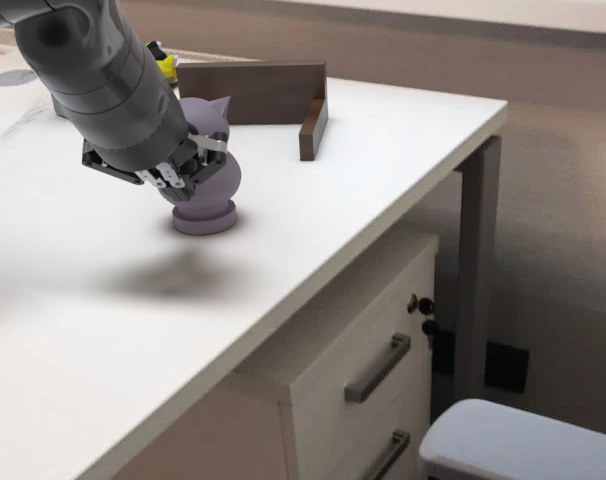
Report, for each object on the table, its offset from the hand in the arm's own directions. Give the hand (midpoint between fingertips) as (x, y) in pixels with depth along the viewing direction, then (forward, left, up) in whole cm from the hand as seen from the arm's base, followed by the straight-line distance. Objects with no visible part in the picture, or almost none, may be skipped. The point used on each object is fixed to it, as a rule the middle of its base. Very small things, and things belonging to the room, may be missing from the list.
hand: (183, 191), depth 81 cm
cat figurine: (0, +5, -6) cm, 8 cm away
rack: (0, +28, -5) cm, 29 cm away
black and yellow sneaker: (-20, +51, -6) cm, 55 cm away
